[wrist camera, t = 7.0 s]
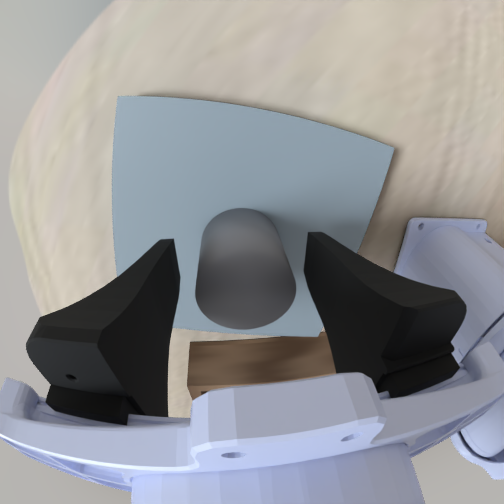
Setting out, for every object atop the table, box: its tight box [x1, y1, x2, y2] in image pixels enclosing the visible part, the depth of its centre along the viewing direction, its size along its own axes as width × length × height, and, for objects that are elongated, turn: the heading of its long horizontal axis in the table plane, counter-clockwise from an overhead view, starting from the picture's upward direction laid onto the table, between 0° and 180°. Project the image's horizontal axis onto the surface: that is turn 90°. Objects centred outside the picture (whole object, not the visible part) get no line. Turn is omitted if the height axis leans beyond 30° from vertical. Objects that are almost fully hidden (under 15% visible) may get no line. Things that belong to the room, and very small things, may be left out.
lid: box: [112, 96, 394, 337], centre depth 13 cm, size 14×14×6 cm
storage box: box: [187, 332, 336, 400], centre depth 22 cm, size 12×12×4 cm
